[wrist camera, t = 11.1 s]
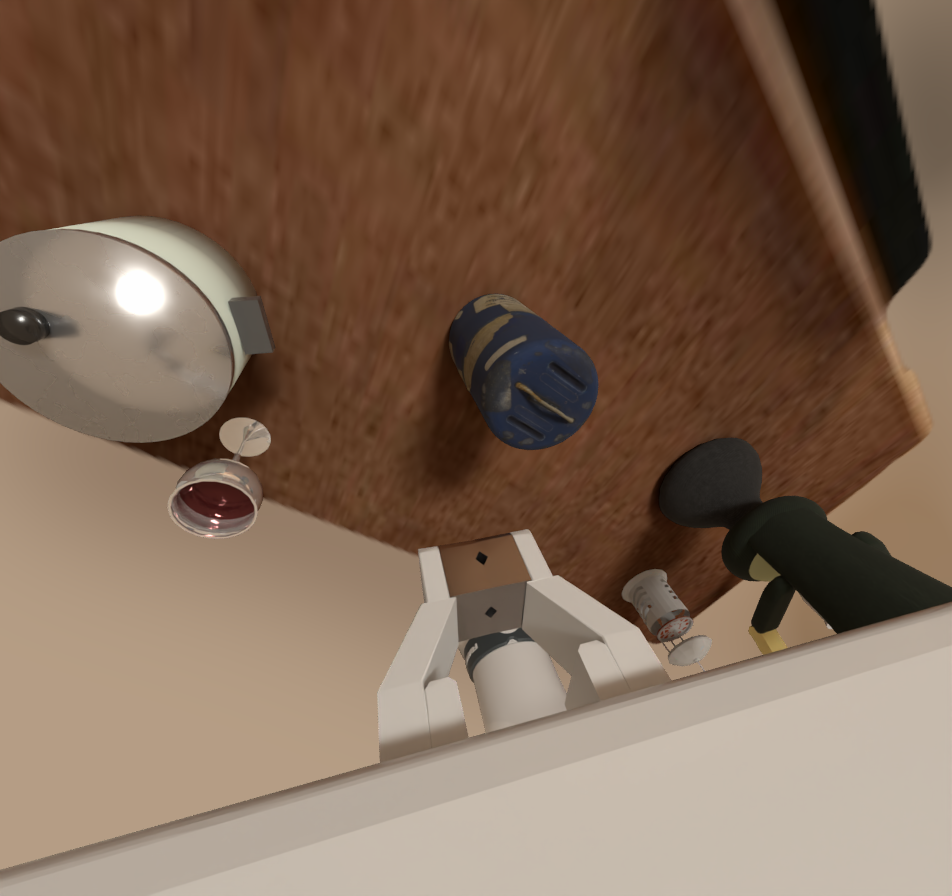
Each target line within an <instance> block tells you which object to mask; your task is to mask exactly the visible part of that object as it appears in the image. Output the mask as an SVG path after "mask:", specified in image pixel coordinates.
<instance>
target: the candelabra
mask: <svg viewBox="0 0 952 896" xmlns="http://www.w3.org/2000/svg"><path fill="white" fill-rule="evenodd" d="M761 483H762V466H761V463H760V459H759V456H758V454H757V452H756V451H755V450H754V448H753V447H752V446H751V445H750V444H749V443H748V442H746V441H744V440H742V439H738V438H721V439H714V440H712V441H709V442H706V443H703V444H700V445H699V446H697V447H696V448H694V449H692V450H691V451H689V452H687V453H686V454H685V455H684V456H683V457H682V458H681V459H679V460H678V461H677V462H676V463H675V464H674V465H673V466H672V468H671V469H670V471H669V472H668V473H667V474H666V476H665V478H664V481H663V483H662V485H661V487H660V496H659V506H660V509H661V511H662V513H663V514H664V515H665V516H666V517H667V518H668V519H670V520H671V521H673V522H675V523H676V524H679V525H683V526H687V527H692V528H711V527H725V528H727V529H729V532H728V533H727V535H726V537H725V539H724V542H723V545H722V559H723V562H724V564H725V566H726V567H727V569H728V570H729V571H730V572H731V573H732V574H734V575H735V576H737V577H739V578H741V579H744V580H748V581H771V582H769V583H768V585H767V586H766V588H765V589H764V591H763V593H762V595H761V598H760V600H759V602H758V605H757V608H756V610H755V613H754V615H753V618H752V620H751V624H752V626H750V627H749V630H748V631H749V634H750V635H751V636H752V638H753V639H754V641H755V642H756V644H757V646H758V648H759V649H760V651H761V652H762V654H763V655H765V654H768V653H772V652H775V651H779V650H783V649H786V648H787V646H786V645H785V643H784V641H783V640H782V638H781V637H780V635H779V634H778V632H777V630H776V628H777V627H778V626H779V624H780V622H781V620H782V618H783V616H784V614H785V612H786V610H787V608H788V605H789V603H790V601H791V599H792V597H793V595H794V593H795V590H797V591H798V592H799V593H800V594H801V596H802V597H803V598H804V599H805V600H806V601H807V602H808V603H809V604H810V605H811V606H812V607H813V608H814V609H815V610H816V611H817V612H818V613H819V615H820V616H821V617H822V618H823V619H824V620H825V621H826V622H827V623H828V624H829V625H830V626H831V628H832V629H833V630H834V631H835V632H836V633H837V634H839V633H843V632H846V631H850V630H853V629H857V628H860V627H864V626H868V625H871V624H875V623H878V622H882V621H885V620H889V619H892V618H896V617H900V616H903V615H907V614H910V613H914V612H917V611H921V610H924V609H928V608H932V607H935V606H939V605H942V604H946V603H949V602H952V587H950V586H948V585H946V584H944V583H942V582H940V581H938V580H936V579H934V578H932V577H930V576H928V575H926V574H924V573H922V572H921V571H919V570H916V569H915V568H913V567H911V566H909V565H907V564H905V563H903V562H901V561H899V560H897V559H895V558H893V557H892V556H891V555H890V553H889V552H888V550H887V548H886V547H885V545H884V544H883V543H882V542H881V541H880V540H878V539H877V538H875V537H874V536H873V535H871V534H870V533H867V532H863V531H861V532H855V533H854V534H852V535H851V534H849V533H847V532H845V531H844V530H842V529H840V528H839V527H837V526H835V525H834V524H832V523H831V522H829V521H828V520H827V517H826V514H825V512H824V511H823V509H822V508H821V507H820V506H819V505H818V504H816V503H815V502H814V501H812V500H809V499H807V498H804V497H799V496H783V497H778V498H774V499H771V500H768V501H766V502H764V503H762V501H761V499H760V498H759V497H760V488H761Z"/></svg>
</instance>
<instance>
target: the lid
mask: <svg viewBox="0 0 952 896" xmlns="http://www.w3.org/2000/svg"><path fill="white" fill-rule="evenodd" d="M234 368H235V360H234V350H233V346H232V342H231V338H230V336H229V333H228V331H227V328H226V326H225V324H224V322H223V320H222V318H221V316H220V315H219V313H218V311H217V310H216V308H215V307H214V305H213V304H212V303H211V301H210V300H209V298H208V297H207V296H206V295H205V294H204V293H203V292H202V291H201V289H200V288H199V287H198V286H197V285H196V284H195V283H194V282H193V281H191V280H190V279H189V278H188V277H187V276H186V275H185V274H184V273H182V272H181V271H180V270H178V269H177V268H176V267H174V266H173V265H172V264H171V263H169V262H167V261H166V260H164V259H163V258H161V257H159V256H158V255H156V254H155V253H153V252H151V251H149V250H147V249H145V248H143V247H141V246H139V245H137V244H134V243H131V242H129V241H126V240H123V239H121V238H118V237H114V236H111V235H107V234H103V233H99V232H93V231H87V230H80V229H54V230H43V231H32V232H28V233H24V234H20V235H15V236H13V237H11V238H8V239H6V240H3V241H1V242H0V383H1V384H2V385H3V386H4V387H5V388H6V389H8V390H9V391H10V392H11V393H12V394H13V395H14V396H16V397H17V398H18V399H19V400H21V401H22V402H23V403H25V404H26V405H28V406H29V407H30V408H32V409H33V410H35V411H37V412H38V413H40V414H42V415H43V416H45V417H47V418H48V419H50V420H52V421H55V422H57V423H59V424H61V425H63V426H65V427H68V428H70V429H73V430H75V431H78V432H81V433H84V434H87V435H91V436H94V437H98V438H103V439H107V440H113V441H121V442H136V443H144V442H157V441H163V440H169V439H172V438H176V437H179V436H182V435H184V434H187V433H189V432H191V431H193V430H195V429H197V428H198V427H200V426H202V425H203V424H204V423H205V422H207V421H208V420H209V419H210V418H211V417H212V416H213V415H214V414H215V413H216V412H217V411H218V409H219V408H220V406H221V405H222V404H223V402H224V400H225V399H226V397H227V395H228V393H229V391H230V388H231V386H232V382H233V377H234Z"/></svg>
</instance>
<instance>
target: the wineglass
mask: <svg viewBox="0 0 952 896" xmlns="http://www.w3.org/2000/svg"><path fill="white" fill-rule="evenodd" d="M219 436H220V440H221V442H222V444H223V446H225V447H226V448H227V449H228V450H229V451H231V452H233V453H235V455H234V457H233V459H232V460H229V459H211V460H206V461H203V462H201V463H199V464H197V465H195V466H193V467H191V468H190V469H188V470H187V471H186V472H185V474H183V476H182V477H181V478H180V479H179V481H178V482H177V486H176V490H175V491H174V492H173V493H172V495H171V496H170V498H169V502H168V510H169V514H170V517H171V518H172V519H173V520H174V522H175V523H176V524H177V525H178V526H179V527H181V528H183V529H184V530H185V531H187V532H189V533H192V534H194V535H197V536H199V537H205V538H211V539H221V538H230V537H234V536H237V535H240V534H242V533H243V532H245V531H247V530H248V529H249V528H250V527H251V526H252V525H253V524H254V523H255V521H256V518H257V515H258V510H259V509H260V506H261V504H262V501H263V490H262V484H261V482H260V480H259V478H258V476H257V474H256V473H255V472H254V471H253V470H251V469H250V468H249V467H248V466H246V465H244V464H242V463H240V462H239V460H240V457H241V456H256V455H259V454H261V453H263V452H265V451H266V449H267V448H268V447H269V445H270V442H271V439H270V434H269V432H268V430H267V429H266V428H265V427H264V426H263V425H262V424H261V423H259V422H257V421H256V420H253V419H249V418H234V419H231V420H229V421H227V422H225V423H224V424H223V426H222V427H221V429H220V432H219Z"/></svg>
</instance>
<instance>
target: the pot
mask: <svg viewBox="0 0 952 896" xmlns="http://www.w3.org/2000/svg"><path fill="white" fill-rule="evenodd" d="M55 229H80V230H87V231H93V232H99V233H103V234H107V235H111V236H114V237H118V238H121V239H123V240H126V241H129V242H131V243H134V244H137V245H139V246H141V247H143V248H145V249H147V250H149V251H151V252H153V253H155V254H156V255H158V256H159V257H161V258H163V259H164V260H166V261H167V262H169V263H171V264H172V265H173V266H174V267H176V268H177V269H178V270H180V271H181V272H182V273H184V274H185V275H186V276H187V277H188V278H189V279H190V280H191V281H193V282H194V283H195V284H196V285H197V286H198V287H199V288H200V289H201V291H202V292H203V293H204V294H205V295H206V296H207V297H208V298H209V300H210V301H211V303H212V304H213V305H214V307H215V308H216V310H217V311H218V313H219V315H220V316H221V318H222V320H223V322H224V324H225V326H226V328H227V331H228V333H229V336H230V338H231V342H232V346H233V350H234V360H235V368H234V377H233V382H232V386H231V388H230V391H231V389H232V387H233V385H234V384H235V382H236V380H237V379H238V377H239V375H240V374H241V372H242V370H243V369H244V367H245V365H246V364H247V362H248V360H249V359H250V357H251V355H252V354H259V353H271V352H273V351H274V349H275V345H274V341H273V338H272V334H271V331H270V327H269V324H268V320H267V317H266V313H265V310H264V306H263V303H262V299H261V296H257V294H256V291H255V289H254V287H253V285H252V283H251V281H250V279H249V278H248V276H247V275H246V273H245V272H244V270H243V269H242V268H241V266H240V265H239V264H238V263H237V261H236V260H235V259H234V258H233V257H232V256H231V255H230V254H229V253H228V252H227V251H226V250H225V249H223V248H222V247H221V246H220V245H218V244H217V243H216V242H215V241H213V240H212V239H210V238H209V237H207V236H206V235H204V234H202V233H200V232H198V231H197V230H195V229H193V228H191V227H188V226H186V225H183V224H181V223H179V222H175V221H172V220H168V219H165V218H159V217H153V216H128V217H121V218H115V219H109V220H103V221H97V222H91V223H85V224H79V225H73V226H67V227H61V228H55ZM49 230H54V229H49ZM230 391H229V392H230ZM228 394H229V393H228Z"/></svg>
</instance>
